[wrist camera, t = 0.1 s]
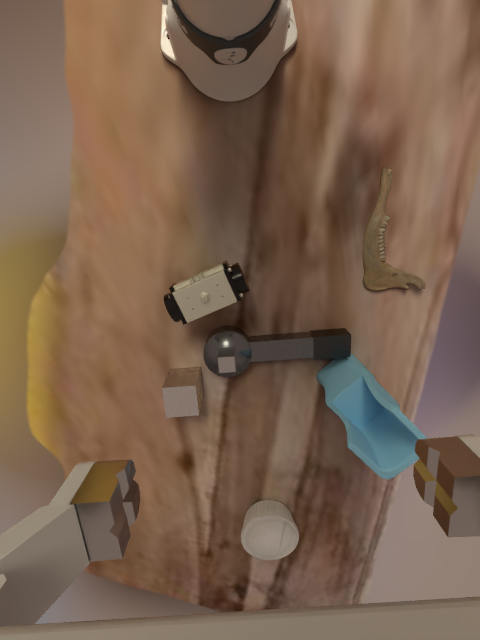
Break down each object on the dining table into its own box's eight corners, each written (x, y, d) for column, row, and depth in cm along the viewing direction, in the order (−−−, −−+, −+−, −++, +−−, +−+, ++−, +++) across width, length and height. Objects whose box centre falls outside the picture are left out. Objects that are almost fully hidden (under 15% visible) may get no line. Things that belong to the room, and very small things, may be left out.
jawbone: (369, 305, 59) (373, 308, 57) (330, 190, 54) (333, 189, 52) (422, 286, 57) (427, 288, 55) (387, 165, 52) (391, 163, 50)
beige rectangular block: (170, 369, 61) (161, 387, 54) (200, 366, 61) (195, 385, 54) (174, 395, 62) (166, 417, 56) (203, 393, 62) (199, 415, 55)
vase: (346, 347, 60) (397, 407, 41) (374, 376, 62) (436, 446, 42) (313, 376, 62) (347, 447, 42) (341, 404, 63) (386, 483, 44)
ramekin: (303, 526, 71) (307, 549, 66) (254, 544, 73) (255, 568, 67) (281, 486, 68) (285, 508, 63) (232, 506, 70) (231, 528, 65)
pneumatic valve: (248, 282, 57) (251, 297, 45) (185, 309, 58) (172, 331, 46) (235, 251, 55) (234, 259, 44) (171, 280, 56) (154, 295, 45)
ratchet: (203, 327, 59) (198, 342, 52) (344, 317, 58) (359, 330, 51) (207, 370, 61) (203, 389, 54) (344, 360, 61) (358, 378, 53)
